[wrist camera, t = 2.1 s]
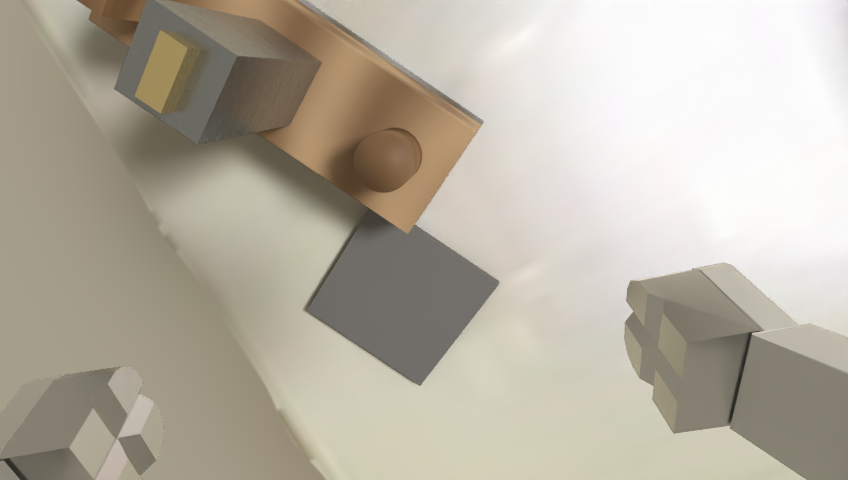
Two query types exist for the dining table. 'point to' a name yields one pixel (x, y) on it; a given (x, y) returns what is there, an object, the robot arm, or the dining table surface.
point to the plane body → (347, 108)
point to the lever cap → (214, 72)
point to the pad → (401, 295)
